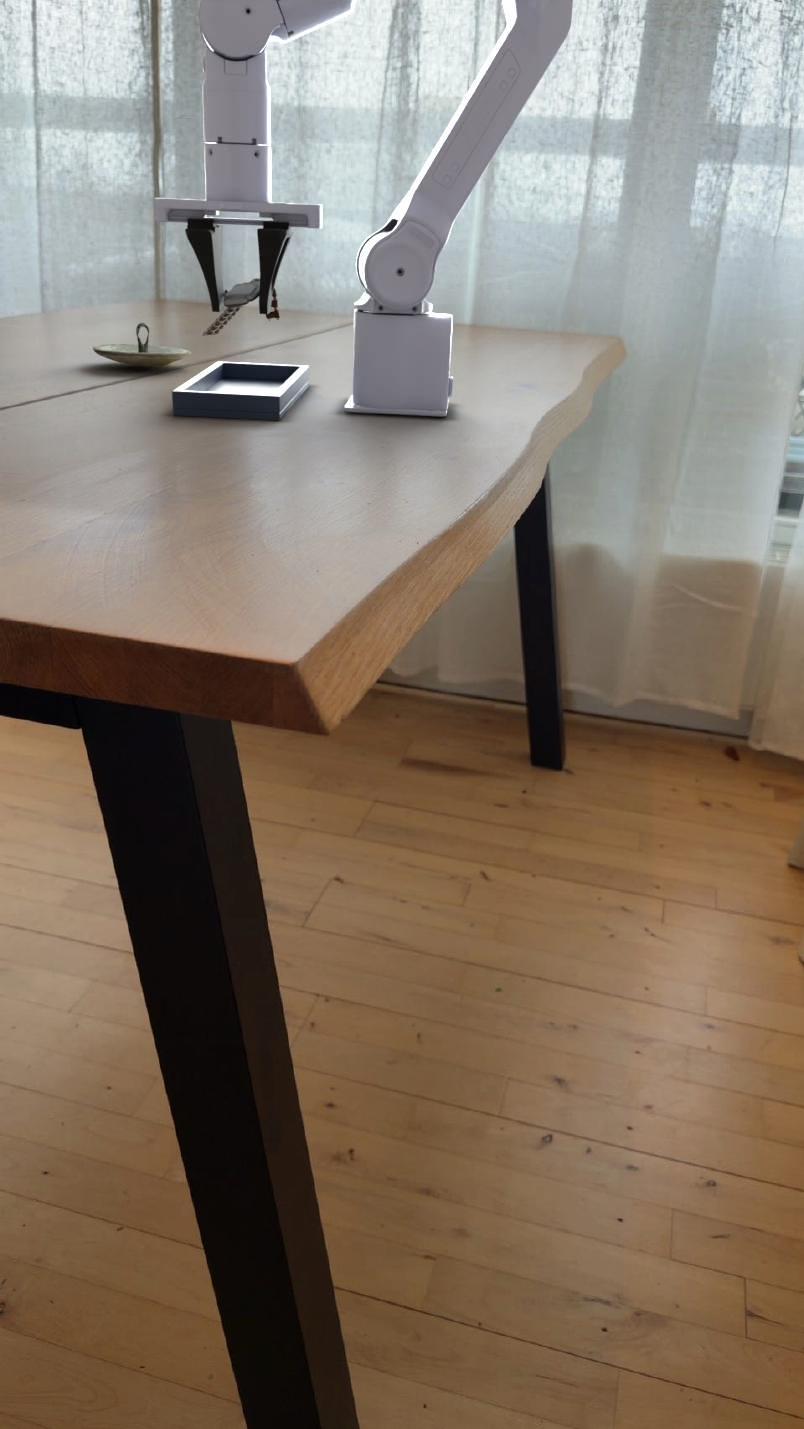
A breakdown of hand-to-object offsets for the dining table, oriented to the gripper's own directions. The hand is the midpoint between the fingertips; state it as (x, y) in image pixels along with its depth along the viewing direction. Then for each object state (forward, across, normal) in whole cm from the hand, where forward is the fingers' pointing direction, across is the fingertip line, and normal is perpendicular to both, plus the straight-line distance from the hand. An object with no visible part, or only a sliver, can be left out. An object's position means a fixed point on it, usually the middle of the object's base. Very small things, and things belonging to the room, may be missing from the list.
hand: (241, 312), depth 104 cm
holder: (+8, 0, +4) cm, 9 cm away
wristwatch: (+2, 0, 0) cm, 2 cm away
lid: (+9, -16, +21) cm, 28 cm away
